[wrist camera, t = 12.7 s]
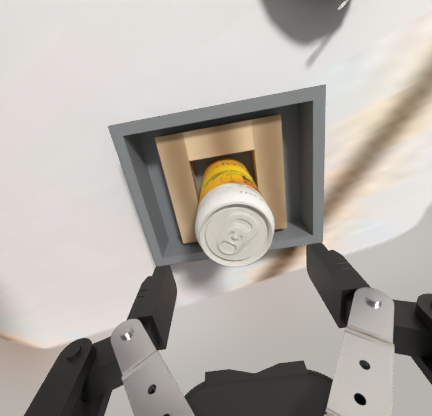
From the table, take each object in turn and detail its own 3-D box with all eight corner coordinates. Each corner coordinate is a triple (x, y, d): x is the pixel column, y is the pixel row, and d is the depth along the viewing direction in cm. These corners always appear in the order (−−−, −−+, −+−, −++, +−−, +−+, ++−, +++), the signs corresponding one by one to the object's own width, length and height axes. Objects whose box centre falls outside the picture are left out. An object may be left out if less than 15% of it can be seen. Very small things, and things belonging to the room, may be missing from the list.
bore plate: (186, 232, 33) (183, 243, 30) (160, 135, 27) (154, 137, 25) (280, 217, 32) (287, 227, 29) (274, 114, 27) (280, 114, 24)
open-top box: (164, 244, 35) (156, 266, 30) (127, 123, 28) (107, 126, 23) (306, 222, 33) (322, 242, 28) (304, 89, 26) (325, 84, 21)
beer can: (257, 171, 29) (296, 223, 15) (233, 207, 31) (248, 282, 18) (217, 147, 28) (221, 181, 14) (194, 187, 30) (179, 250, 16)
